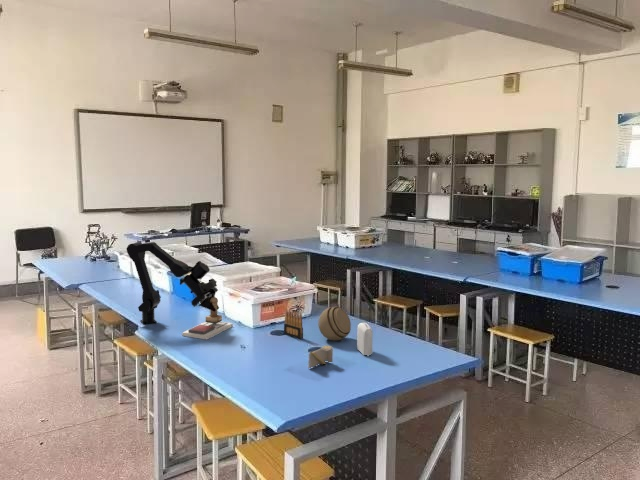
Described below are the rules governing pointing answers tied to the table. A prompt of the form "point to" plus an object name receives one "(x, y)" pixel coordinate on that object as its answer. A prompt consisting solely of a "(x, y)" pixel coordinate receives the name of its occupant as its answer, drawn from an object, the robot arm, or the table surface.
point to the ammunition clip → (293, 324)
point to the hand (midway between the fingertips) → (216, 309)
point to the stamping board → (218, 329)
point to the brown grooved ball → (334, 323)
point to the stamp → (214, 313)
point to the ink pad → (201, 329)
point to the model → (321, 356)
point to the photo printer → (364, 338)
